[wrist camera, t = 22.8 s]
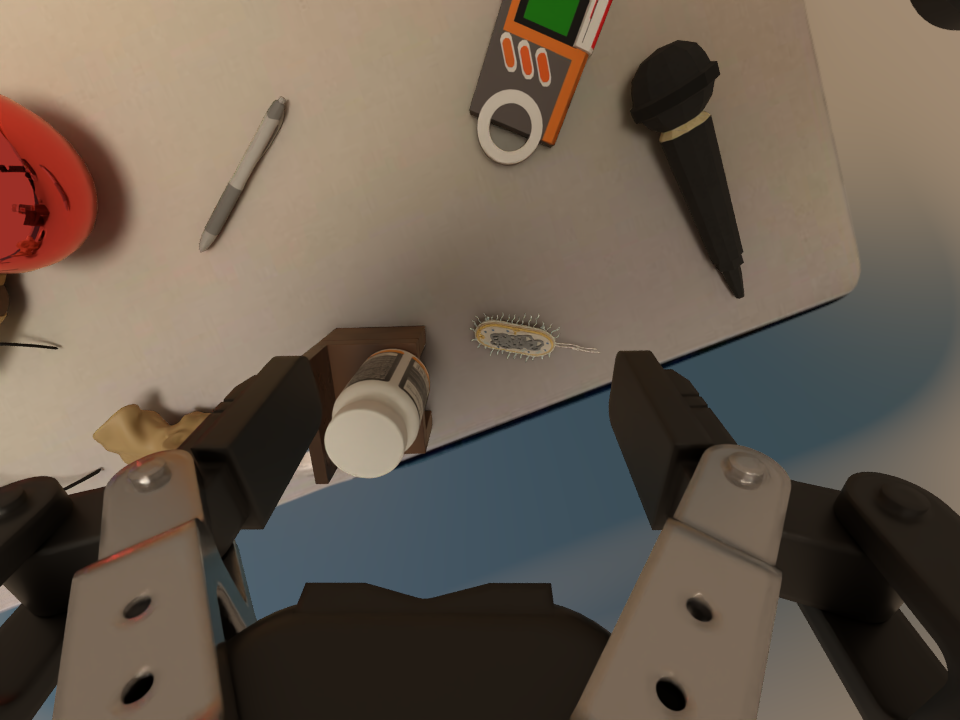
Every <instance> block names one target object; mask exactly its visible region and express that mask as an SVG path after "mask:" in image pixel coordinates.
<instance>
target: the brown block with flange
mask: <svg viewBox="0 0 960 720" xmlns="http://www.w3.org/2000/svg"><path fill="white" fill-rule="evenodd" d="M425 344H426V335H425V326H408V327H368V328H336V329H335V330H333V331H332V332H331V333H330V334H328V335H327V336H326V337H325V338H323V339H322V340H321V341H320V342H319V343H317V344H316V345H315V346H313V347H312V348H311V349H309V350H308V351H307V352H306V353H304V354H303V355H302V356H305V357H307V358H308V360H309V361H310V364H311V367H312V371H313V374H314V378H315V382H316V385H317V389H318V392H319V396H320V400H321V403H322V411H323V413H322V422H321V425H320V428H319V430H318V431H317V433H316V435H315V437H314V439H313V440H312V442H311V444H310V446H309V451H310V456H311V461H312V466H313V472H314V477H315V482H316V484H329V482H330V480H331V478H332V477H333V475H334V473H335V471H336V469H337V468H338V467H337V466H336V465H335V464H334V463H333V462H332V461H331V459H330V458H329V456H328V454H327V451H326V448H325V443H324V438H325V432H326V429H327V427H328V425H329V423H330V422H331V420H332V412H333V407H334V404H335V401H336V399H337V398H338V396H339V395H340V394H341V392H342V391H343V389H344V388H345V387H346V385H347V384H348V383H349V381H350V380H351V379H352V378H353V376H354V375H355V374H356V372H357V371H358V370H359V368H360V367H361V366H362V364H363V363H364V362H365V361H366V360H367V359H368V358H369V357H370V356H371V355H373V354H374V353H376V352H378V351H381V350H385V349H400V350H404V351H407V352H409V353H411V354H413V355H414V356H416V357H417V358H418V359H419V360H420V356H421V353H422V351H423V349H424V346H425ZM431 429H432V414H431V411H424V412H423V415H422V419H421V423H420V427H419V431H418V434H417V437H416V439H415V441H414V442H413V444H412V445H411V446H410V447H409V448H408V449H407V450H406V451H405V452H404V454H415V453H426V449H427V446H428V441H429V437H430V433H431Z"/></svg>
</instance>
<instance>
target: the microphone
mask: <svg viewBox="0 0 960 720" xmlns="http://www.w3.org/2000/svg"><path fill="white" fill-rule="evenodd" d="M719 75H720V72H719V67H718V63H717V61H710V60H709V58H708V56H707V54H706V53H705V51H704V50H703V49H702V48H701V47H700V46H699V45H698V44H697V43H696V42H689V41H681V40H677V41H675V42H672V43H670V44H668V45H665V46H663V47H661V48H659V49H657V50H656V51H655V52H654V53H652V54H651V55H650V56H649V57H648V58H647V59H646V60H645V61H643V62H642V63H641V64H640V66H639V68H638V70H637V72H636V74H635V76H634V78H633V80H632V92H631V95H632V101H633V107H632V108H631V110H630V113H631V115H632V117H633V119H634V121H635V123H636V124H638V123H643V124H644V125H645V126H646V127H647V128H648V129H650V130H652V131H657V132H662V133H661V136H660V139H659V141H660V144H661V146H662V148H663V151H664V153H665V155H666V157H667V160H668V162H669V164H670V167H671V169H672V171H673V174H674V176H675V178H676V180H677V183H678V185H679V187H680V190H681V192H682V194H683V197H684V199H685V201H686V203H687V206H688V208H689V210H690V213H691V215H692V217H693V219H694V222H695V224H696V226H697V229H698V231H699V233H700V236H701V238H702V240H703V242H704V245H705V247H706V249H707V252H708V254H709V256H710V259H711V261H712V262H713V264H715V265H716V268H717V269H718V270H719V271H720V272H722V273H723V275H724V277H725V279H726V281H727V283H728V285H729V286H730V288H731V290H732V292H733V293H734V295H735V297H736V298H742V297H744V288H743V279H742V272H741V268H740V265H741V264H742V263H744V262H743V258H742V255H741V254H742V253H743V249H742V245H741V241H740V236H739V232H738V228H737V224H736V219H735V215H734V211H733V206H732V202H731V198H730V194H729V189H728V185H727V181H726V177H725V172H724V168H723V164H722V160H721V155H720V151H719V147H718V143H717V138H716V134H715V130H714V125H713V121H712V117H711V115H710V114H708V113H706V112H704V111H703V110H704V108H705V106H706V104H707V103H708V101H709V99H710V97H711V95H712V92H713V87H714V81H715V79H716V78H717V77H718V76H719Z"/></svg>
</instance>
